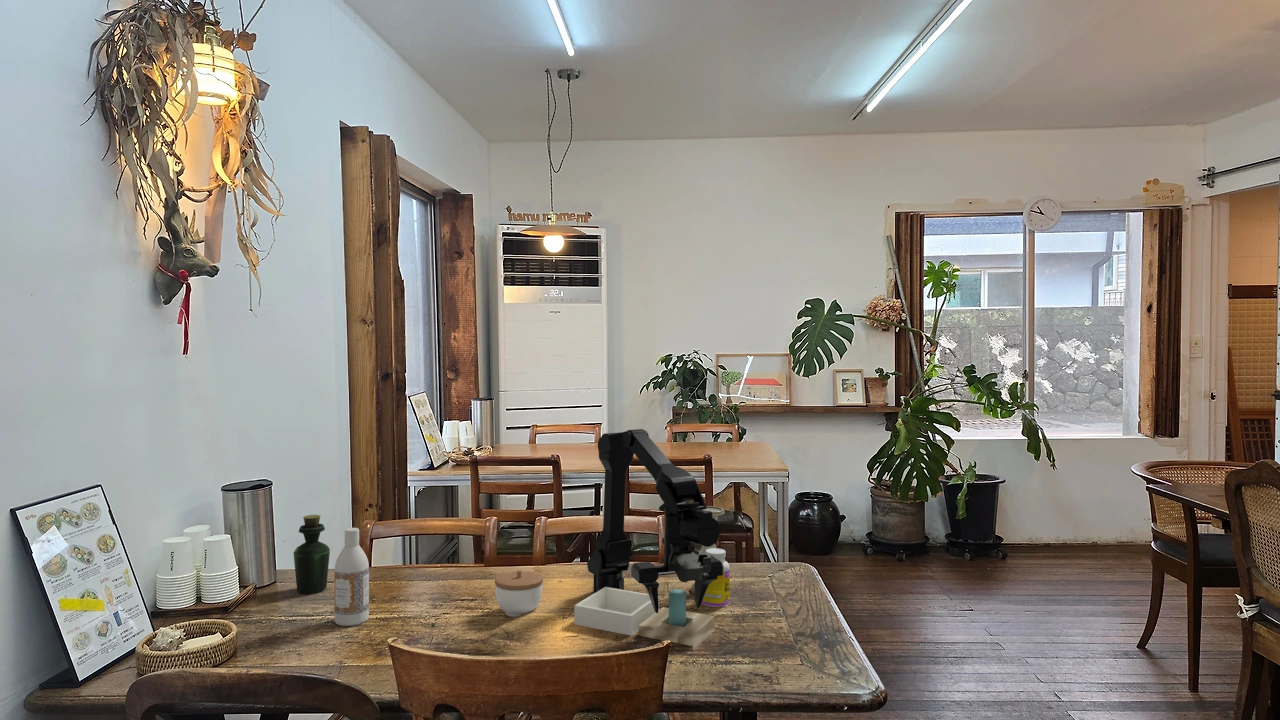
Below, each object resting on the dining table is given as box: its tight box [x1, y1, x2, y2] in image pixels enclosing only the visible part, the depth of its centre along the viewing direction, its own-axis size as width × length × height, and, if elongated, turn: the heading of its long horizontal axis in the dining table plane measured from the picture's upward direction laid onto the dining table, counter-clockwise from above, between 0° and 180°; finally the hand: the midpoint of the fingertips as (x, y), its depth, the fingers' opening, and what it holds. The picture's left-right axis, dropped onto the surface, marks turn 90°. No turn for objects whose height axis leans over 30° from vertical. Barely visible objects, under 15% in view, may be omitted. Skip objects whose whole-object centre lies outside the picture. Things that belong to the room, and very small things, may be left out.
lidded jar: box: [494, 569, 544, 618], centre depth 166 cm, size 11×11×9 cm
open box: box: [573, 587, 660, 637], centre depth 160 cm, size 14×14×5 cm
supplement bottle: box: [701, 547, 731, 608], centre depth 171 cm, size 7×7×13 cm
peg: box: [668, 588, 687, 627], centre depth 153 cm, size 4×4×9 cm
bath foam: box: [333, 527, 370, 627], centre depth 160 cm, size 7×7×20 cm
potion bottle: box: [292, 514, 331, 595], centre depth 180 cm, size 8×8×18 cm
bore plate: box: [638, 607, 715, 652], centre depth 153 cm, size 12×12×3 cm
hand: (677, 610), depth 153 cm, fingers open, 9 cm apart
